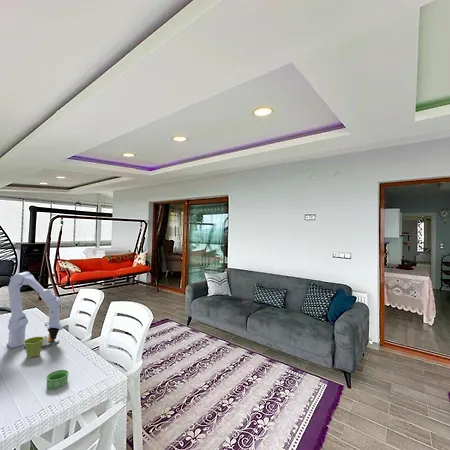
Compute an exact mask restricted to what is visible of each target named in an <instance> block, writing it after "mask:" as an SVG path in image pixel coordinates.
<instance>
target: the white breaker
mask: <svg viewBox="0 0 450 450" xmlns="http://www.w3.org/2000/svg"><path fill="white" fill-rule="evenodd" d="M43 337H44V340H43V342H42V345H46V344H48V335H45V336H43Z"/></svg>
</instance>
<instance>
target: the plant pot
mask: <svg viewBox="0 0 450 450" xmlns="http://www.w3.org/2000/svg"><path fill="white" fill-rule="evenodd" d="M43 340H44V336H33V337H29V338H27V339H25V341H24V345H25V347H26V349H25V352H26V357H27V358H36V357H38V356H40V354H41V351H42V349H41V346H42V342H43Z"/></svg>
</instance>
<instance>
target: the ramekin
mask: <svg viewBox="0 0 450 450" xmlns="http://www.w3.org/2000/svg"><path fill="white" fill-rule="evenodd" d="M69 373H70V372H69V370H67V369H59V370H53V371H51V372H50V373H48V374H47V375H46V377H45V379H46V387H47V388H48V389H49V390H50V389H51V390H53V389H54V390H56V389H60V388H61V387H64V386H65V385H66V384H67V383H68V379H69V378H68V376H69Z"/></svg>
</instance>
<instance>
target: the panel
mask: <svg viewBox="0 0 450 450" xmlns="http://www.w3.org/2000/svg"><path fill="white" fill-rule="evenodd" d="M59 343H60V340H58V339H57V338H56V339H55V340H52V341H49V340H48V344H46V345H42V346H41V350H42V349H43V348H48V347H51V346H53V345H57V344H59ZM23 348H24V349H25V350H26V347H25V344H24V345H23Z"/></svg>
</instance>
